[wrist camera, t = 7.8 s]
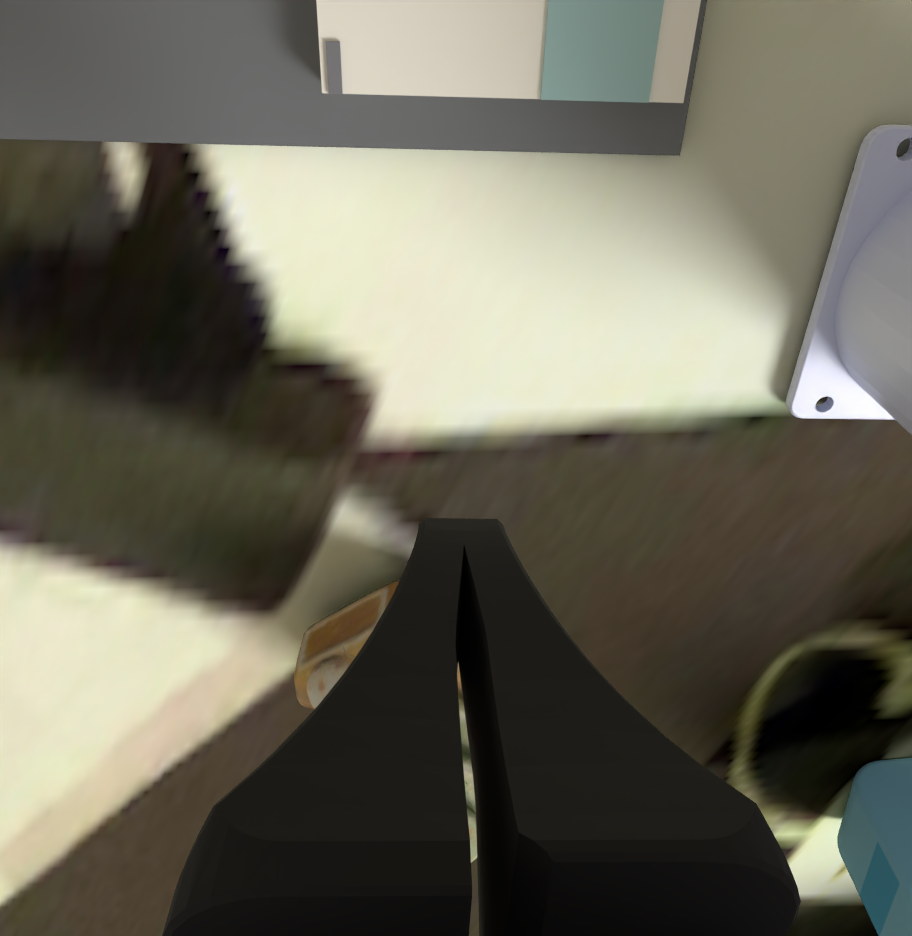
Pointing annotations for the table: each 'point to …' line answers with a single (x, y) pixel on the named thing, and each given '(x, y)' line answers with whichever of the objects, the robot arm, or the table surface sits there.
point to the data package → (881, 843)
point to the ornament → (334, 651)
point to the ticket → (509, 48)
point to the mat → (266, 86)
